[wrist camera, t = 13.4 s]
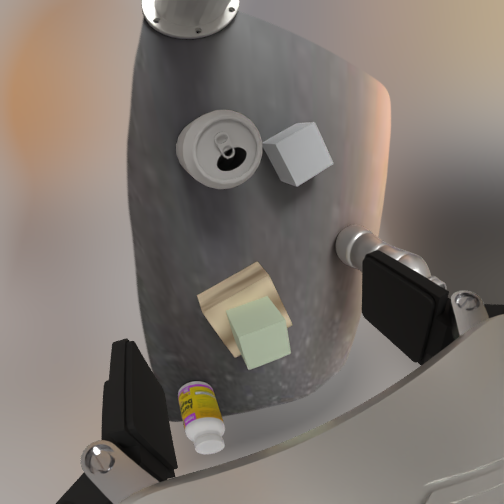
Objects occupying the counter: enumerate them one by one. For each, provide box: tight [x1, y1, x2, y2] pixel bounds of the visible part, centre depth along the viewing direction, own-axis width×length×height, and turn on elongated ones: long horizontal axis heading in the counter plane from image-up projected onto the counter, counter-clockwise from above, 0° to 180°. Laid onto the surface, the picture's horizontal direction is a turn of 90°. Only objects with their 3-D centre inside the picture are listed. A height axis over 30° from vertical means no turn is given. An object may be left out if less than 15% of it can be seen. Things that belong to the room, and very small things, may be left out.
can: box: [176, 110, 262, 189], centre depth 29 cm, size 8×8×12 cm
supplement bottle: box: [178, 381, 225, 454], centre depth 42 cm, size 7×7×13 cm
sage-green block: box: [226, 296, 291, 370], centre depth 37 cm, size 6×6×6 cm
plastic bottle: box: [336, 224, 446, 289], centre depth 37 cm, size 6×7×20 cm
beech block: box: [197, 262, 292, 358], centre depth 42 cm, size 10×10×5 cm
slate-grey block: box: [262, 122, 334, 187], centre depth 36 cm, size 6×6×5 cm
